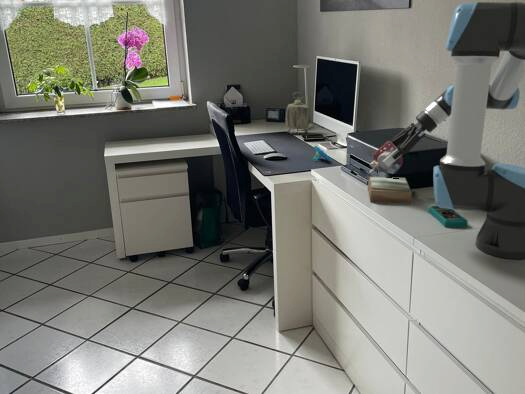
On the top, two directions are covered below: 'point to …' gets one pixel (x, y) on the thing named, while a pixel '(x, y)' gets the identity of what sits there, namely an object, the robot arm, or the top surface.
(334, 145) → the top surface
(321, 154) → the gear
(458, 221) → the digital multimeter
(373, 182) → the walnut stand
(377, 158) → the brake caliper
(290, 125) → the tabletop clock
